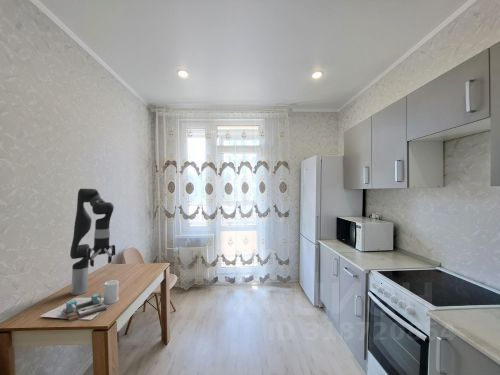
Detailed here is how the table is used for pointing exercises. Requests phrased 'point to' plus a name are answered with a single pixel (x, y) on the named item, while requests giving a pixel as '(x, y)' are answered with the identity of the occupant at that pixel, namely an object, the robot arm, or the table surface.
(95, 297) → the fixed leg
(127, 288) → the table surface
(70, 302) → the sliding leg
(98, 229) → the robot arm
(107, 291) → the mug
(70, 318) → the board
